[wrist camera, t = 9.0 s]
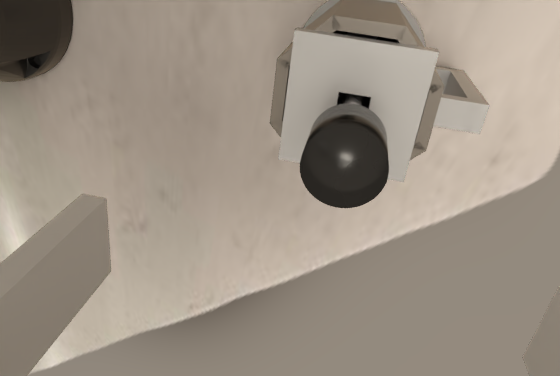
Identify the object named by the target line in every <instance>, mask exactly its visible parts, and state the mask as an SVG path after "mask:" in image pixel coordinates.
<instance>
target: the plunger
mask: <svg viewBox="0 0 560 376" xmlns="http://www.w3.org/2000/svg"><path fill="white" fill-rule="evenodd" d="M333 33H335V34H342V35H348V36H355V37H361V38H368V39H374V40H381V41H388V42H394V43H398V42H397V40H396V39H391V38H385V37H378V36H372V35H365V34H358V33H352V32H345V31H339V30H336V31H335V32H333ZM370 98H371V97H366V96H360V95H354V94H348V93H342V92H339V96H338V101H337V105H335V106H333V107H330V108H329V109H327V110H325V111H324V112H323V113H321V114H320V115H319V116H318V118H317V119H316V120H315V122H314V124H313V125H312V128H311V131H310V134H309V136H308V139H307V142H306V145H305V148H304V150H303V153H302V156H301V160H300V173H301V178H302V180H303V183H304V185H305V187H306V188H307V189H308V191H309V192H310V193H311V194H312V195H313V196H314V197H315V198H316V199H318V200H319V201H321V202H323V203H325V204H327V205H330V206H333V207H339V208H352V207H357V206H361V205H363V204H366V203H368V202H369V201H371V200H372V199H374V198H375V197H376V196H377V195H378V194H379V193H380V192H381V191H382V189H383V188H384V186H385V184H386V182H387V179H388V174H389V160H388V145H387V133H386V130H385V127H384V125H383V123H382V121H381V120H380V118H379V117H378V116H377V115H376V114H375V113H374V112H372V111H371V110H370V109H368V107H369V103H370Z"/></svg>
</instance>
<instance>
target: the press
mask: <svg viewBox="0 0 560 376" xmlns="http://www.w3.org/2000/svg"><path fill="white" fill-rule="evenodd" d="M336 30H339V31H345V32H352V33H358V34H365V35H372V36H378V37H385V38H391V39H396V40H397V42H398V43H394V42H388V41H381V40H374V39H368V38H361V37H355V36H348V35H342V34H335V33H333V32H335V31H336ZM438 55H439V51H438V50H437V49H433V48H427V47H426V45H425V40H424V36H423V33H422V30H421V28H420V26H419V24H418V22H417V20H416V19H415V17H414V16H413V14H412V13H411V12H410V11H409V10H408V9H407V8H406V7H405V6H404V5H403V4H402V3H401V2H399V1H398V0H329V1H327V2H326V3H324V4H323V5H322V6H321V7H320V8H319V9H317V10H316V11H315V12H314V14H313V15H312V16H311V17H310V18H309V20H308V21H307V23H306V24H305V26H304V28H296V29H295V31H294V39H293V42H292V43H291V44H290V45H289V46H288V48H287V49H286V50H285V51H284V52H283V53H282V54H281V55H280V56H279V57H278V59H277V65H276V73H275V82H274V91H273V100H272V109H271V117H270V124H271V126H272V127H273V128H274V129H275V131H276V132H277V133H278V134H279V136H280V137H281V141H280V149H279V157H278V159H279V160H284V161H290V162H295V163H300V160H301V156H302V153H303V150H304V148H305V145H306V142H307V139H308V136H309V134H310V131H311V128H312V125H313V124H314V122H315V120H316V119H317V118H318V116H319V115H320V114H321V113H323V112H324V111H325V110H327V109H329V108H330V107H333V106H335V105H337V101H338V96H339V92H342V93H348V94H354V95H360V96H366V97H371V98H370V103H369V107H368V109H370V110H371V111H372V112H374V113H375V114H376V115H377V116H378V117H379V118H380V120H381V121H382V123H383V125H384V127H385V130H386V133H387V145H388V160H389V174H388V180H393V181H399V182H404V180H405V176H406V172H407V169H408V165H409V161H410V160H411V159H413V158H414V157H416V156H418V155H420V154H421V153H423V152H425V151H426V149H427V145H428V142H429V138H430V135H431V131H432V128H433V126H434V127H439V128H445V129H451V130H457V131H463V132H469V133H475V134H480V132H481V130H482V127H483V124H484V121H485V118H486V115H487V112H488V109H489V106H490V105H489V104H488V102H487V101H486V100H485V98H484V97H483V96H482V94H481V93H480V92H479V90H478V89H477V88H476V86H475V85H474V84H473V82H472V81H471V80H470V78H469V77H468V76H467V74H466V73H465V72H464V71H463V70H457V69H450V68H444V67H437V66H436V62H437V58H438Z"/></svg>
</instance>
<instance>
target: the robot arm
mask: <svg viewBox="0 0 560 376" xmlns="http://www.w3.org/2000/svg"><path fill="white" fill-rule="evenodd" d="M71 31H72V10H71V4H70V0H0V81H2V82H15V81H22V80H26V79H29V78H32V77H35V76H38V75H40V74H43V73H45V72H47V71H48V70H50V69H51V68H53V67H54V66H55V65H56V64H57V63H58V62H59V61H60V59H61V58H62V57H63V55H64V53H65V51H66V49H67V47H68V44H69V41H70V37H71ZM110 272H111V259H110V244H109V230H108V215H107V200H106V198H103V197H97V196H92V195H87V194H81V195H80V196H79V197H78V198H77V199H76V200H74V201H73V202H72V203H71V204H70V205H69V206H67V207H66V208H65V209H64V210H63V211H61V212H60V213H59V214H58V215H57V216H56V217H54V218H53V219H52V220H51V221H50V222H49V223H47V224H46V225H45V226H44V227H43V228H41V229H40V230H39V231H38V232H37V233H36V234H34V235H33V236H32V237H31V238H30V239H29V240H27V241H26V242H25V243H24V244H23V245H22V246H20V247H19V248H18V249H17V250H16V251H14V252H13V253H12V254H11V255H10V256H9V257H7V258H6V259H5V260H4V261H3V262H2V263H0V376H27V375H28V374H29V373H30V371H31V370H32V369H33V368H34V366H35V365H36V364H37V363H38V361H39V360H40V359H41V358H42V356H43V355H44V354H45V353H46V351H47V350H48V349H49V348H50V346H51V345H52V344H53V343H54V342H55V340H56V339H57V338H58V337H59V335H60V334H61V333H62V332H63V330H64V329H65V328H66V327H67V325H68V324H69V323H70V322H71V320H72V319H73V318H74V317H75V315H76V314H77V313H78V312H79V310H80V309H81V308H82V307H83V305H84V304H85V303H86V302H87V300H88V299H89V298H90V297H91V295H92V294H93V293H94V292H95V290H96V289H97V288H98V287H99V286H100V284H101V283H102V282H103V281H104V279H105V278H106V277H107V276H108V274H109V273H110ZM522 358H523V360H524V363H525V366H526V368H527V371H528V374H529V376H560V286H559V287H558V289H557V290H556V292H555V295H554V296H553V298H552V300H551V302H550V304H549V306H548V308H547V310H546V312H545V314H544V316H543V318H542V320H541V322H540V324H539V326H538V328H537V330H536V332H535V334H534V336H533V337H532V339H531V341H530V343H529V346H528V347H527V349H526V351H525V354H524V355H523V357H522Z"/></svg>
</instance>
